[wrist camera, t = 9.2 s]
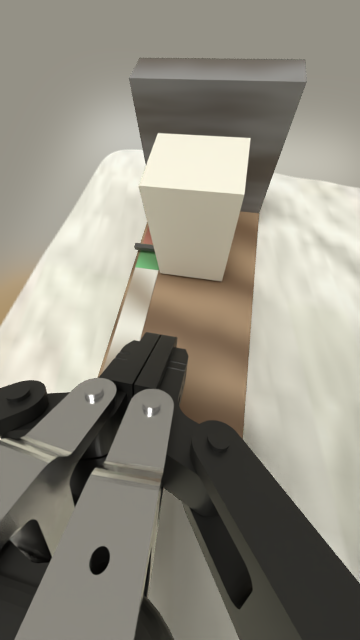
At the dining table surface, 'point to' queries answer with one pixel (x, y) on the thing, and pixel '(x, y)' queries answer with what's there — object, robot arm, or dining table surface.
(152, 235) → the block
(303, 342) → the dining table surface
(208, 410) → the base
